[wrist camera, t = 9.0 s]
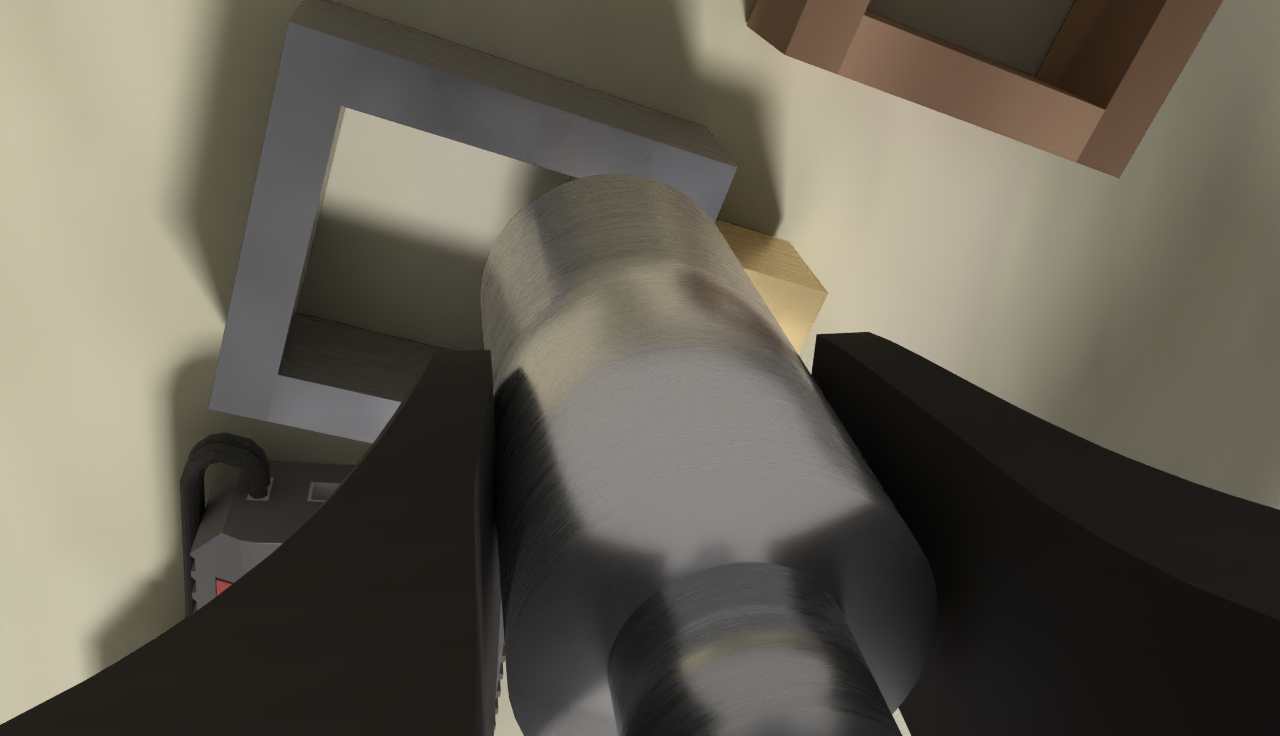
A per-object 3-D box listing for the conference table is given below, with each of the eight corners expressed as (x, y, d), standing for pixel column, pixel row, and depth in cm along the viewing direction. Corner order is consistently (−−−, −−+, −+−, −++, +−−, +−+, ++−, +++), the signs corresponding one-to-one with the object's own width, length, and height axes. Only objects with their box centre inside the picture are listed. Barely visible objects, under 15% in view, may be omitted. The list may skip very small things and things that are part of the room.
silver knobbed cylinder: (746, 173, 14) (1086, 598, 6) (721, 401, 16) (967, 939, 8) (477, 173, 13) (518, 643, 6) (482, 410, 15) (518, 1001, 8)
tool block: (706, 127, 20) (737, 167, 17) (588, 425, 22) (603, 491, 20) (309, -6, 17) (288, 21, 15) (234, 344, 20) (207, 409, 18)
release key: (789, 241, 21) (828, 292, 19) (719, 396, 22) (747, 460, 20) (591, 180, 19) (608, 228, 17) (531, 350, 21) (540, 412, 19)
